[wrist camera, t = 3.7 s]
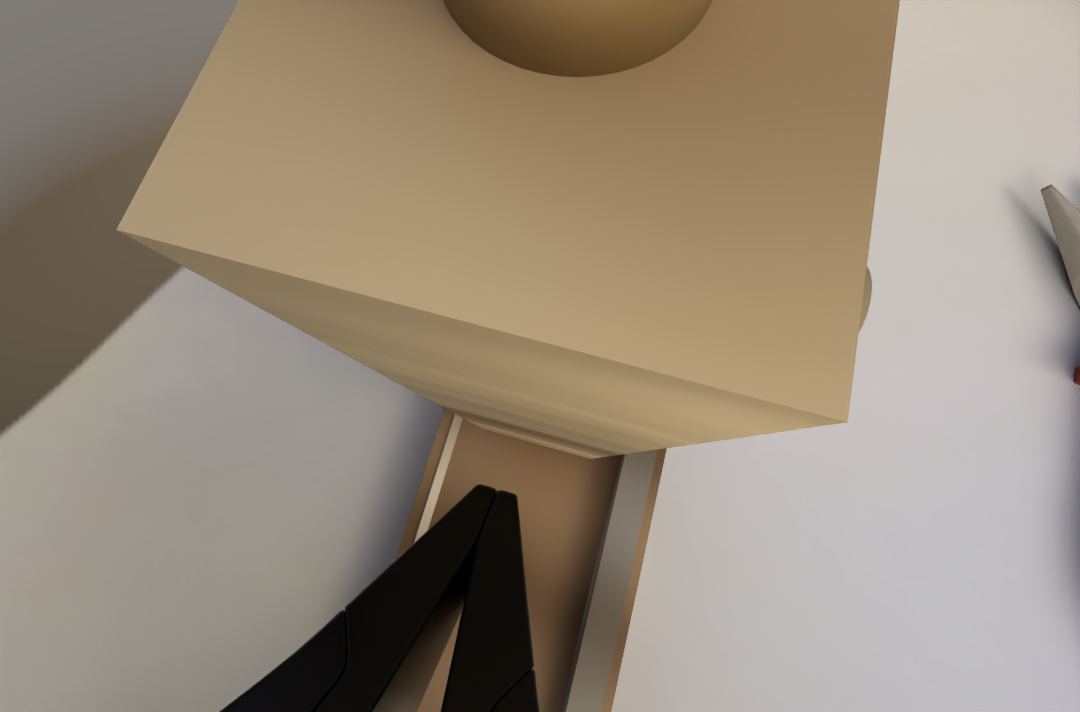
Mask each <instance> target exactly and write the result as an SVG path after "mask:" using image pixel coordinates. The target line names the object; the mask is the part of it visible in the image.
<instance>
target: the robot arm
mask: <svg viewBox="0 0 1080 712" xmlns="http://www.w3.org/2000/svg"><path fill="white" fill-rule="evenodd" d="M461 611H462V613H461ZM460 613H461V618H460V623H459V627H458V632H457V637H456V641H455V646H454V651H453V656H452V660H451V665H450V670H449V674H448V679H447V684H446V689H445V693H444V698H443V703H442V707H441V712H540V708H539V700H538V692H537V682H536V673H535V670H533V669H534V666H535V665H534V655H533V645H532V635H531V625H530V616H529V606H528V596H527V586H526V576H525V567H524V557H523V547H522V537H521V527H520V518H519V508H518V498H517V495H516V494H514V493H511V492H507V491H504V490H498V491H497V490H496V489H495V488H493V487H490V486H486V485H482V484H478V485H476V486H475V487H474V488H473V489H472V490H471V491H469V492H468V493H467V494H466V495H465V496H464V497H463V498H462V499H461V500H460V501H459V502H458V503H457V504H456V505H454V506H453V507H452V508H451V509H450V510H449V511H448V512H447V513H446V514H445V515H444V516H443V517H442V518H440V519H439V520H438V521H437V522H436V523H435V524H434V525H433V526H432V527H431V528H430V529H429V530H428V531H426V532H425V533H424V534H423V535H422V536H421V537H420V538H419V539H418V540H417V541H416V542H415V543H414V544H413V545H411V546H410V547H409V548H408V549H407V550H406V551H405V552H404V553H403V554H402V555H401V556H400V557H399V558H397V559H396V560H395V561H394V562H393V563H392V564H391V565H390V566H389V567H388V568H387V569H386V570H385V571H384V572H382V573H381V574H380V575H379V576H378V577H377V578H376V579H375V580H374V581H373V582H372V583H371V584H370V585H368V586H367V587H366V588H365V589H364V590H363V591H362V592H361V593H360V594H359V595H358V596H357V597H356V598H355V599H353V600H352V601H351V602H350V603H349V604H348V605H347V606H346V607H345V611H343V610H342V611H340V612H339V613H338V614H337V615H336V616H335V617H334V618H333V619H332V620H331V621H330V622H328V623H327V624H326V625H325V626H324V627H323V628H322V629H321V630H320V631H319V632H317V633H316V634H315V635H314V636H313V637H312V638H311V639H310V640H308V641H307V642H306V643H305V644H304V645H303V646H302V647H300V648H299V649H298V650H297V651H296V652H295V653H294V654H292V655H291V656H290V657H289V658H287V659H286V660H285V661H284V662H282V663H281V664H280V665H279V666H277V667H276V668H275V669H274V670H272V671H271V672H270V673H269V674H267V675H266V676H265V677H264V678H262V679H261V680H260V681H259V682H257V683H256V684H255V685H253V686H252V687H251V688H250V689H248V690H247V691H246V692H244V693H243V694H242V695H240V696H239V697H238V698H237V699H235V700H234V701H233V702H231V703H230V704H229V705H227V706H226V707H225V708H224V709H222V710H221V711H220V712H417V711H418V708H419V706H420V704H421V701H422V699H423V697H424V695H425V692H426V690H427V688H428V686H429V683H430V681H431V679H432V677H433V674H434V672H435V670H436V668H437V665H438V663H439V661H440V659H441V656H442V654H443V652H444V650H445V647H446V645H447V643H448V640H449V638H450V636H451V634H452V631H453V629H454V627H455V625H456V622H457V620H458V618H459V616H460Z"/></svg>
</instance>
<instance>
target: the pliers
mask: <svg viewBox="0 0 1080 712" xmlns="http://www.w3.org/2000/svg"><path fill="white" fill-rule="evenodd" d="M1041 193H1042V196H1043V199H1044V202H1045V205H1046V208H1047V212H1048V215H1049V218H1050V221H1051V224H1052V227H1053V230H1054V233H1055V236H1056V239H1057V243H1058V246H1059V249H1060V252H1061V255H1062V258H1063V261H1064V264H1065V267H1066V270H1067V273H1068V277H1069V280H1070V283H1071V286H1072V289H1073V292H1074V295H1075V297H1076V300H1077V302H1078V304H1079V306H1080V211H1079V210H1078V209H1077V208H1076V207H1075V206H1074V205H1073V204H1071V203H1070V202H1069V201H1068V200H1067V199H1066V198H1065V197H1064V196H1063V195H1062V194H1061V193H1060V192H1059V191H1058V190H1057V189H1056V188H1055V187H1054V186H1053V185H1049V186H1047V187H1045V188H1043V189H1041ZM1074 383H1076V384H1079V385H1080V367H1077V368H1075V379H1074Z"/></svg>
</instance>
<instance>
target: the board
mask: <svg viewBox="0 0 1080 712" xmlns="http://www.w3.org/2000/svg"><path fill="white" fill-rule="evenodd" d="M665 453H666V448H664V449H657V450H650V451H643V452H636V453H629V454H622V455H615V456H608V457H601V458H594V459H589V458H585V457H582V456H578V455H575V454H571V453H568V452H564V451H561V450H557V449H554V448H550V447H546V446H543V445H539V444H536V443H532V442H529V441H525V440H522V439H518V438H515V437H511V436H507V435H504V434H500V433H497V432H493V431H490V430H486V429H483V428H480V427H478V426H476V425H474V424H473V423H471V422H469V421H467V420H465V419H463V418H462V417H460V416H458V415H456V414H454V413H452V412H450V411H449V410H447V409H444V412H443V415H442V418H441V421H440V424H439V427H438V430H437V433H436V437H435V440H434V443H433V446H432V449H431V452H430V455H429V458H428V461H427V464H426V467H425V470H424V473H423V476H422V480H421V483H420V486H419V489H418V492H417V495H416V498H415V501H414V504H413V507H412V510H411V513H410V516H409V519H408V523H407V526H406V529H405V532H404V535H403V538H402V541H401V544H400V547H399V550H398V553H397V556H396V559H397V558H399V557H400V556H401V555H402V554H403V553H404V552H405V551H406V550H407V549H408V548H409V547H410V546H411V545H413V544H414V543H415V542H416V541H417V540H418V539H419V538H420V537H421V536H422V535H423V534H424V533H425V532H426V531H428V530H429V529H430V528H431V527H432V526H433V525H434V524H435V523H436V522H437V521H438V520H439V519H440V518H442V517H443V516H444V515H445V514H446V513H447V512H448V511H449V510H450V509H451V508H452V507H453V506H454V505H456V504H457V503H458V502H459V501H460V500H461V499H462V498H463V497H464V496H465V495H466V494H467V493H468V492H469V491H471V490H472V489H473V488H474V487H475V486H476V485H478V484H482V485H486V486H490V487H493V488H495V489H496V490H497V491H498V490H504V491H507V492H511V493H514V494H516V495H517V498H518V508H519V518H520V527H521V537H522V547H523V557H524V567H525V576H526V586H527V596H528V606H529V616H530V625H531V635H532V645H533V655H534V665H535V666H534V669H533V670H535V673H536V682H537V692H538V700H539V708H540V712H611V709H612V705H613V700H614V695H615V690H616V686H617V681H618V676H619V671H620V667H621V662H622V657H623V652H624V648H625V643H626V638H627V633H628V629H629V624H630V619H631V614H632V610H633V605H634V600H635V595H636V591H637V586H638V581H639V576H640V572H641V567H642V562H643V557H644V553H645V548H646V543H647V539H648V534H649V529H650V524H651V520H652V515H653V510H654V505H655V501H656V496H657V491H658V486H659V482H660V477H661V472H662V467H663V463H664V458H665ZM396 559H395V560H396ZM461 613H462V611H461ZM461 613H460V616H459V618H458V620H457V622H456V625H455V627H454V629H453V631H452V634H451V636H450V638H449V640H448V643H447V645H446V647H445V650H444V652H443V654H442V656H441V659H440V661H439V663H438V665H437V668H436V670H435V672H434V674H433V677H432V679H431V681H430V683H429V686H428V688H427V690H426V692H425V695H424V697H423V699H422V701H421V704H420V706H419V708H418V711H417V712H441V707H442V703H443V698H444V693H445V689H446V684H447V679H448V674H449V670H450V665H451V660H452V656H453V651H454V646H455V641H456V637H457V632H458V627H459V623H460V618H461Z"/></svg>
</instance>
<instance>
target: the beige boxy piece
mask: <svg viewBox="0 0 1080 712" xmlns="http://www.w3.org/2000/svg"><path fill="white" fill-rule="evenodd" d="M899 2H900V0H239V2H238V4H237V6H236V7H235V9H234V11H233V13H232V15H231V17H230V19H229V21H228V23H227V24H226V26H225V28H224V30H223V32H222V34H221V35H220V37H219V39H218V41H217V43H216V45H215V47H214V49H213V51H212V52H211V55H210V56H209V58H208V60H207V62H206V64H205V66H204V67H203V69H202V71H201V73H200V75H199V76H198V79H197V80H196V82H195V84H194V86H193V88H192V90H191V91H190V93H189V95H188V97H187V99H186V101H185V103H184V104H183V106H182V108H181V110H180V112H179V114H178V116H177V118H176V120H175V121H174V123H173V125H172V127H171V129H170V131H169V132H168V134H167V136H166V138H165V140H164V142H163V144H162V145H161V147H160V149H159V151H158V153H157V155H156V157H155V159H154V160H153V162H152V164H151V166H150V168H149V170H148V172H147V174H146V175H145V177H144V179H143V181H142V183H141V185H140V187H139V189H138V190H137V192H136V194H135V196H134V198H133V200H132V201H131V203H130V205H129V207H128V209H127V211H126V213H125V214H124V216H123V218H122V220H121V222H120V224H119V226H118V228H117V230H118V231H120V232H122V233H124V234H125V235H127V236H129V237H131V238H133V239H134V240H136V241H138V242H140V243H142V244H144V245H145V246H147V247H149V248H151V249H153V250H155V251H156V252H158V253H160V254H162V255H164V256H166V257H168V258H169V259H172V260H173V261H175V262H177V263H179V264H180V265H182V266H184V267H186V268H188V269H190V270H191V271H193V272H195V273H197V274H199V275H201V276H202V277H204V278H206V279H208V280H210V281H212V282H213V283H215V284H217V285H219V286H221V287H223V288H224V289H226V290H228V291H230V292H232V293H234V294H236V295H237V296H239V297H241V298H243V299H245V300H247V301H248V302H250V303H252V304H254V305H256V306H258V307H259V308H261V309H263V310H265V311H267V312H269V313H270V314H272V315H274V316H276V317H278V318H280V319H281V320H283V321H285V322H287V323H289V324H291V325H292V326H294V327H296V328H298V329H300V330H302V331H303V332H305V333H307V334H309V335H311V336H313V337H315V338H316V339H318V340H320V341H322V342H324V343H326V344H327V345H329V346H331V347H333V348H335V349H337V350H338V351H340V352H342V353H344V354H346V355H348V356H349V357H351V358H353V359H355V360H357V361H359V362H360V363H362V364H364V365H366V366H368V367H370V368H371V369H373V370H375V371H377V372H379V373H381V374H382V375H384V376H386V377H388V378H390V379H392V380H394V381H395V382H397V383H399V384H401V385H403V386H405V387H406V388H408V389H410V390H412V391H414V392H416V393H417V394H419V395H421V396H423V397H425V398H427V399H428V400H430V401H432V402H434V403H436V404H438V405H439V406H441V407H443V408H445V409H447V410H449V411H450V412H452V413H454V414H456V415H458V416H460V417H462V418H463V419H465V420H467V421H469V422H471V423H473V424H474V425H476V426H478V427H480V428H483V429H486V430H490V431H493V432H497V433H500V434H504V435H507V436H511V437H515V438H518V439H522V440H525V441H529V442H532V443H536V444H539V445H543V446H546V447H550V448H554V449H557V450H561V451H564V452H568V453H571V454H575V455H578V456H582V457H585V458H589V459H594V458H601V457H608V456H615V455H622V454H629V453H636V452H643V451H650V450H657V449H664V448H671V447H678V446H685V445H692V444H699V443H706V442H713V441H720V440H726V439H733V438H740V437H747V436H754V435H761V434H768V433H775V432H782V431H789V430H796V429H803V428H810V427H817V426H824V425H831V424H838V423H845V422H847V420H848V412H849V404H850V396H851V388H852V380H853V372H854V364H855V356H856V348H857V340H858V334H859V332H860V330H861V328H862V325H863V323H864V320H865V318H866V315H867V312H868V308H869V304H870V299H871V291H872V280H871V274H870V271H869V269H868V267H867V259H868V251H869V243H870V235H871V227H872V219H873V211H874V203H875V195H876V187H877V179H878V171H879V163H880V155H881V147H882V139H883V131H884V123H885V115H886V107H887V98H888V90H889V82H890V74H891V66H892V58H893V50H894V42H895V34H896V26H897V18H898V10H899Z"/></svg>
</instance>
